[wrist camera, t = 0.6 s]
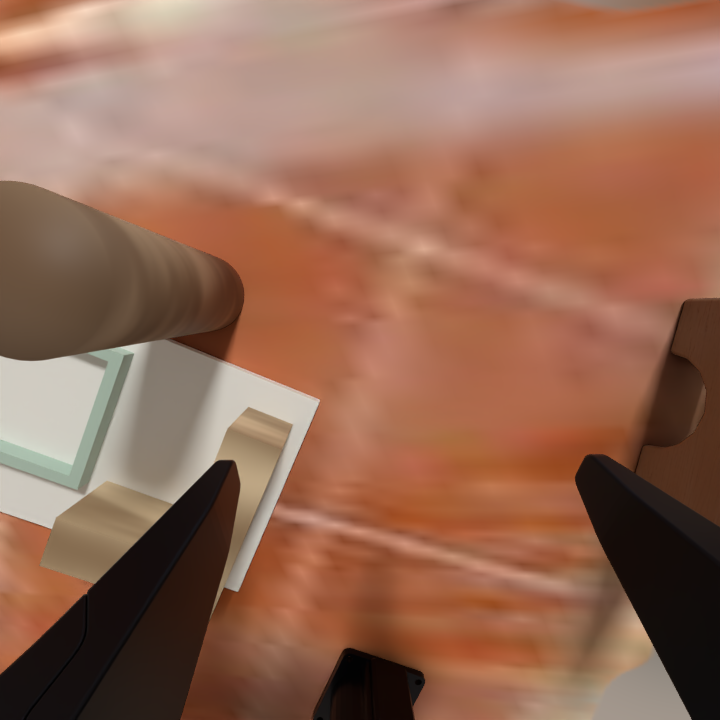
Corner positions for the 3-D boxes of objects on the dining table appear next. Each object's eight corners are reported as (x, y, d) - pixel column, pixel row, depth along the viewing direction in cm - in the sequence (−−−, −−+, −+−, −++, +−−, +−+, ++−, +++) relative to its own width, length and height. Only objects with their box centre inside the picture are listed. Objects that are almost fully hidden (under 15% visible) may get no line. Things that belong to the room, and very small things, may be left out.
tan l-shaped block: (231, 568, 24) (209, 621, 20) (92, 520, 23) (39, 565, 19) (293, 424, 22) (281, 449, 18) (147, 367, 21) (103, 380, 17)
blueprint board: (240, 585, 24) (233, 604, 23) (-87, 473, 22) (-120, 486, 21) (320, 399, 23) (318, 406, 21) (-26, 259, 21) (-57, 255, 19)
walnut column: (228, 342, 22) (81, 386, 10) (157, 313, 22) (-93, 320, 9) (255, 273, 21) (134, 228, 9) (182, 242, 21) (-48, 148, 9)
